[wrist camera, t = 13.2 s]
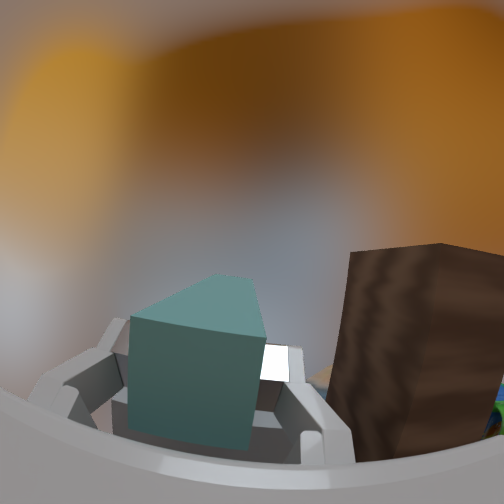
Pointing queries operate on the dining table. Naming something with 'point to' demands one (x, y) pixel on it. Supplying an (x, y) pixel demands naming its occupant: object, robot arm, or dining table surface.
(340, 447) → the robot arm
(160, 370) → the batten
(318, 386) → the dining table surface
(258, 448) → the base block
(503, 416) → the snack cup
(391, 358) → the walnut stand
